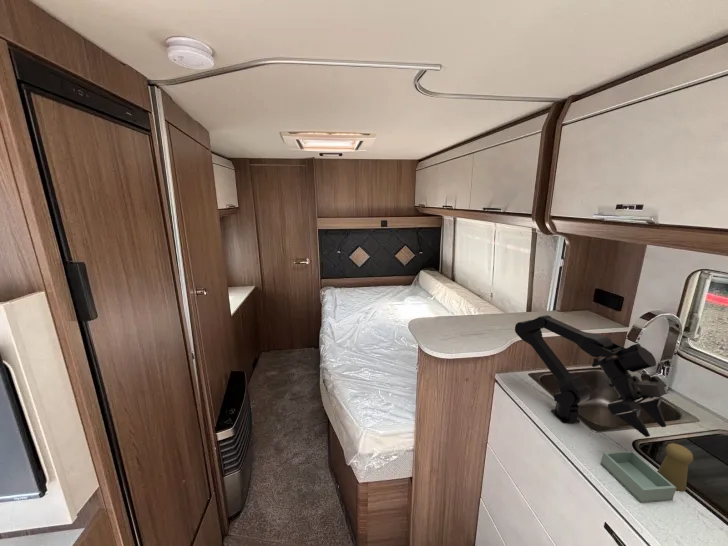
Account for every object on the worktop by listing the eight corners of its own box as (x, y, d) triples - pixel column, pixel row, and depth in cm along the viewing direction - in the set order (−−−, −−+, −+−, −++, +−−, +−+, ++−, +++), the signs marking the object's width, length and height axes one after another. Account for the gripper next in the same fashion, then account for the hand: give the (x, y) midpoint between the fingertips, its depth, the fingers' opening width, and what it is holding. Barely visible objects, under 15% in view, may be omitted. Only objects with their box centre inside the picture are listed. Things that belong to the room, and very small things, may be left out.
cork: (650, 475, 87) (660, 442, 84) (663, 470, 89) (673, 437, 86) (678, 494, 81) (689, 459, 79) (691, 488, 83) (702, 453, 81)
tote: (600, 463, 90) (603, 452, 89) (628, 462, 91) (632, 450, 90) (640, 502, 79) (643, 490, 78) (672, 500, 80) (676, 487, 79)
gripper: (629, 375, 84) (672, 438, 77) (662, 362, 92) (704, 417, 85) (592, 386, 93) (627, 443, 85) (625, 372, 101) (660, 424, 93)
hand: (656, 431), depth 87 cm, fingers open, 9 cm apart
